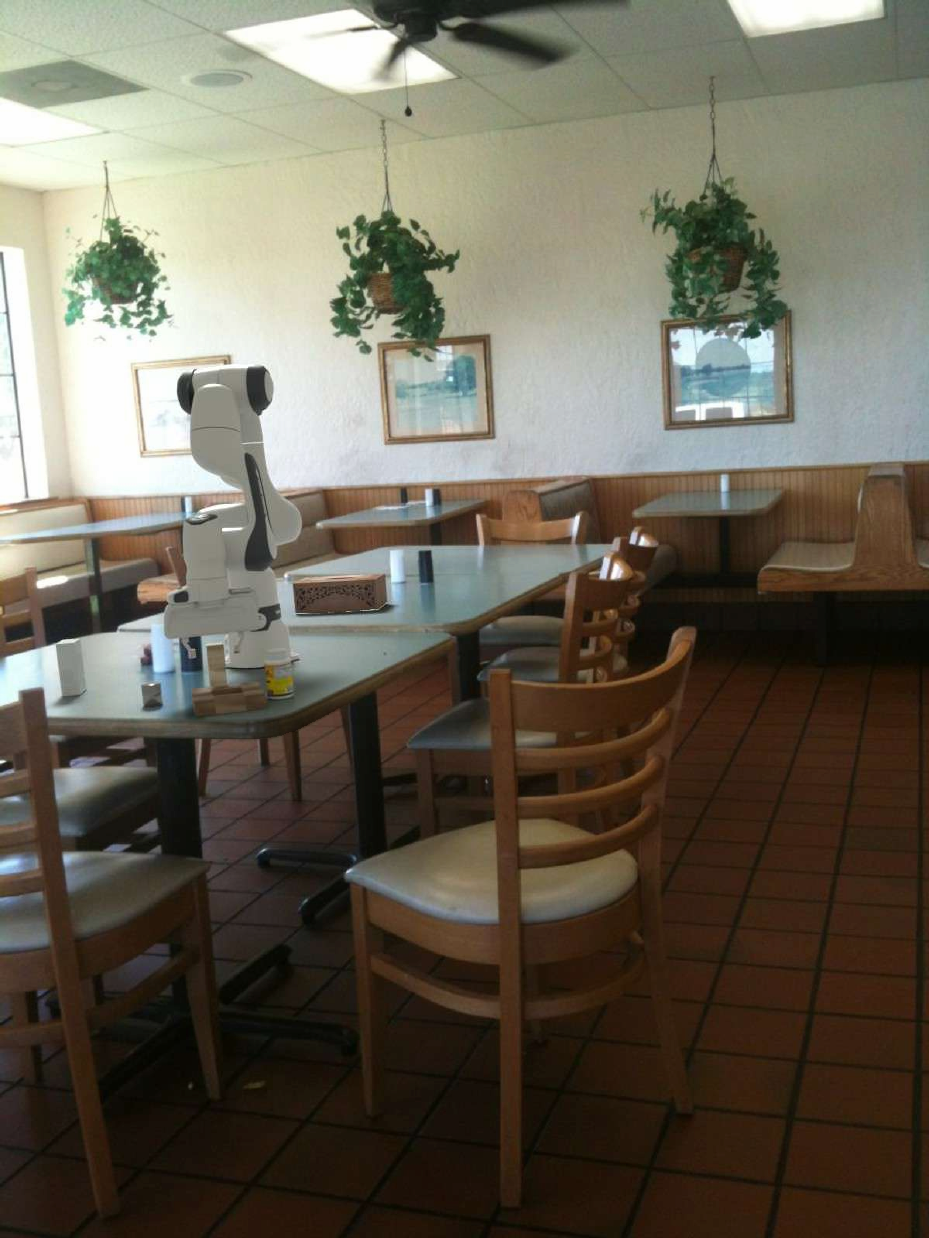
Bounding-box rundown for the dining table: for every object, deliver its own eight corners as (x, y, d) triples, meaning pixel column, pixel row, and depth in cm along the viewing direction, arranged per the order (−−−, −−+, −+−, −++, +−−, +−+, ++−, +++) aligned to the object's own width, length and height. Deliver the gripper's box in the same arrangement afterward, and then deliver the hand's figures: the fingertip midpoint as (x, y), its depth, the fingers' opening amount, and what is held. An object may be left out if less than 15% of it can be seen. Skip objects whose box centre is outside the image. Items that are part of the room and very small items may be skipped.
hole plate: (192, 703, 263) (191, 689, 263) (259, 695, 267) (258, 681, 266) (195, 716, 250) (194, 702, 249) (266, 708, 253) (265, 693, 253)
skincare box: (67, 691, 286) (61, 639, 284) (86, 689, 286) (80, 638, 285) (61, 696, 280) (54, 644, 278) (80, 695, 280) (74, 642, 279)
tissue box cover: (387, 604, 395) (385, 573, 393) (377, 611, 381) (375, 579, 379) (308, 608, 399) (305, 577, 397) (295, 615, 385) (292, 583, 383)
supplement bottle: (266, 696, 266) (262, 648, 264) (293, 693, 267) (289, 646, 265) (268, 701, 260) (263, 652, 259) (295, 698, 261) (290, 650, 260)
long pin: (210, 694, 272) (205, 644, 270) (227, 692, 273) (222, 642, 271) (211, 697, 268) (206, 646, 267) (228, 695, 269) (223, 644, 268)
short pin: (143, 704, 266) (141, 683, 265) (162, 702, 267) (160, 681, 266) (143, 708, 262) (141, 687, 261) (163, 705, 263) (160, 684, 262)
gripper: (256, 585, 272) (262, 648, 274) (159, 594, 267) (166, 658, 269) (259, 587, 266) (265, 652, 268) (160, 597, 261) (167, 662, 263)
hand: (214, 655), depth 269 cm, fingers open, 8 cm apart
